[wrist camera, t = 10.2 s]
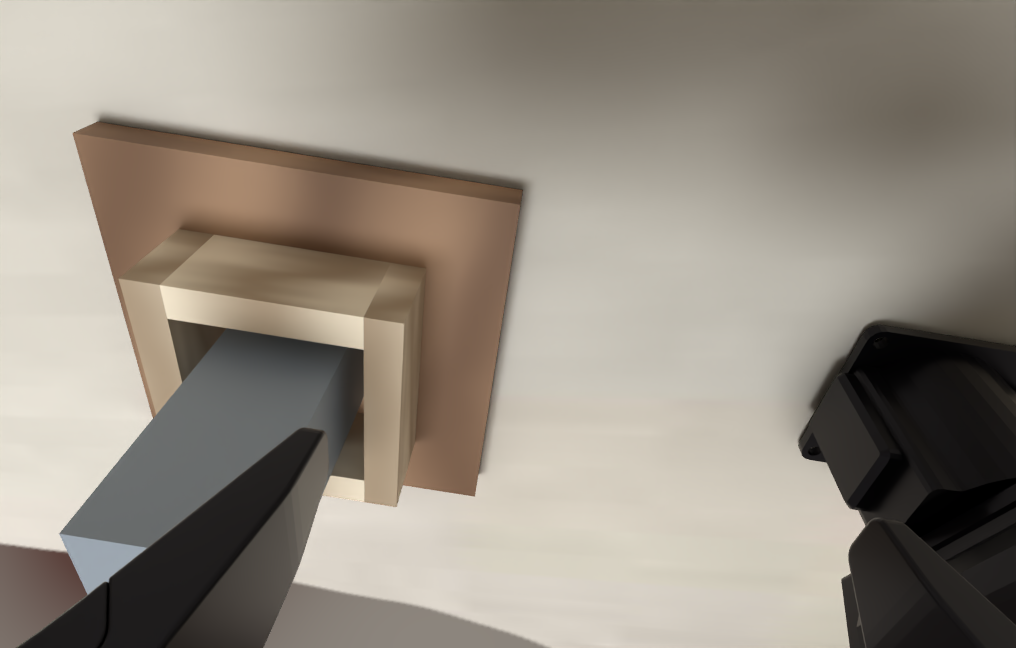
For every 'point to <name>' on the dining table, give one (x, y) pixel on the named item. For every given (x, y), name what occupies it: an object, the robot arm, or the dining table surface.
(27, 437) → the dining table surface
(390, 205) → the socket block
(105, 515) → the peg
